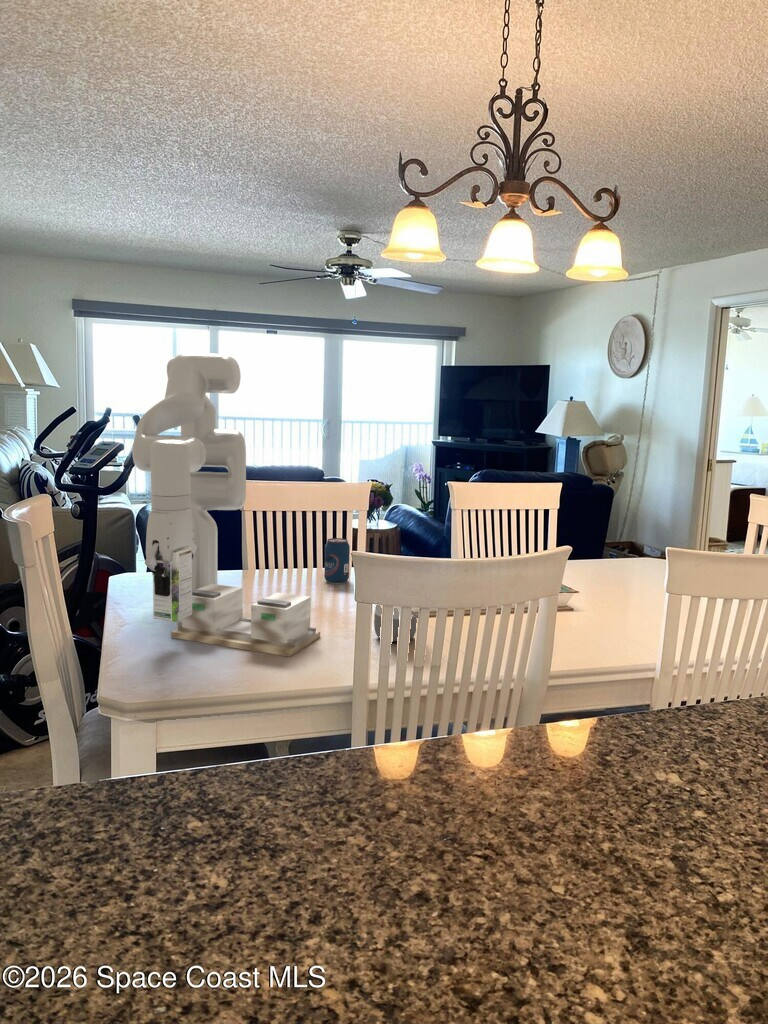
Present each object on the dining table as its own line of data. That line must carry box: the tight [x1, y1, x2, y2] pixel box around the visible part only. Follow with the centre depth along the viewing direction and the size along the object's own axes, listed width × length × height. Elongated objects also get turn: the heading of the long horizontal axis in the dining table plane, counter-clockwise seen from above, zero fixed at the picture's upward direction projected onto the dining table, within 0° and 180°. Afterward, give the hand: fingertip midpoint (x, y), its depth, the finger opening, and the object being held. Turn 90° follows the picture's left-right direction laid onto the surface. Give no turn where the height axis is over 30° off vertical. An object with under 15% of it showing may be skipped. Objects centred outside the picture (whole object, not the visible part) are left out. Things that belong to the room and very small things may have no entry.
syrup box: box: [152, 547, 192, 623], centre depth 148 cm, size 6×6×14 cm
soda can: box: [324, 537, 351, 585], centre depth 207 cm, size 7×7×12 cm
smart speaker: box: [373, 604, 418, 644], centre depth 158 cm, size 10×9×14 cm
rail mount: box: [170, 584, 321, 657], centre depth 156 cm, size 28×14×10 cm, turn 70°
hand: (172, 590), depth 148 cm, fingers closed on syrup box, 5 cm apart
